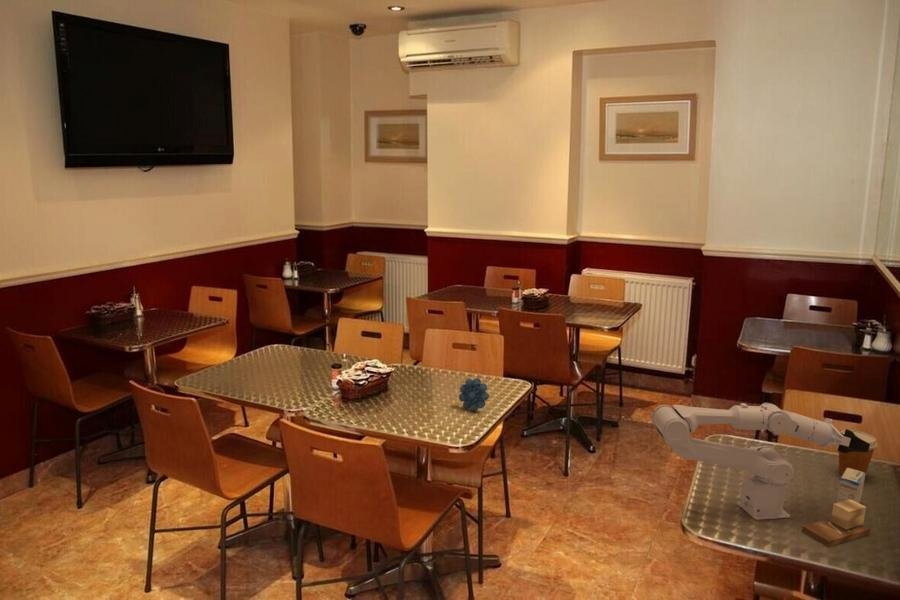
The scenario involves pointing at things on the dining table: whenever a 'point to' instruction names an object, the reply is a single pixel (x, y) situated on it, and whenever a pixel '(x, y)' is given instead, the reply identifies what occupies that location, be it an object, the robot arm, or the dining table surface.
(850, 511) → the sanding block
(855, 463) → the disposable coffee cup
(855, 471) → the medicine box
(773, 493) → the robot arm
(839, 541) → the walnut board
